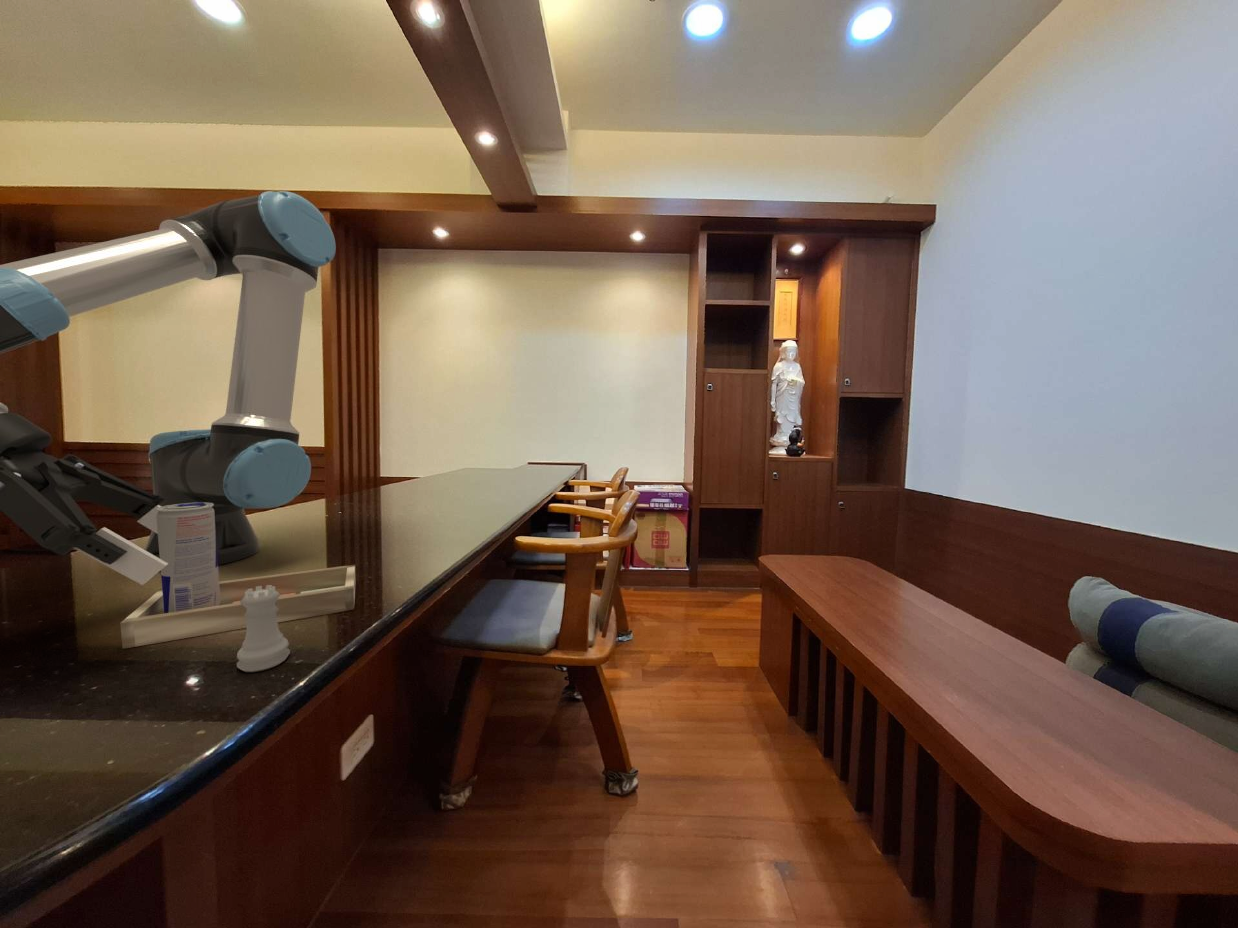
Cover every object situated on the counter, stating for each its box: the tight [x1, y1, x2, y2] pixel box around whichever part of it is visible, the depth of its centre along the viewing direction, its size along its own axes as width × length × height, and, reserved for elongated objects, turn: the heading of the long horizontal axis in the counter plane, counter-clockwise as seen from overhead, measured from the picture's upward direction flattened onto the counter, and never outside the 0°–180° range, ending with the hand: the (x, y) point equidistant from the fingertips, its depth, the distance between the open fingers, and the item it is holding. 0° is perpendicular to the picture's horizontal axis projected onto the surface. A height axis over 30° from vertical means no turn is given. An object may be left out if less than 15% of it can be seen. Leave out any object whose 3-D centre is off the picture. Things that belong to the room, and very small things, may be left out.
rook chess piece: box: [236, 585, 291, 673], centre depth 46 cm, size 4×4×8 cm
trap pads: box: [231, 593, 296, 604], centre depth 58 cm, size 8×7×1 cm
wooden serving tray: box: [120, 564, 357, 650], centre depth 58 cm, size 11×22×3 cm, turn 120°
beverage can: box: [156, 503, 221, 613], centre depth 54 cm, size 5×5×15 cm
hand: (179, 557), depth 53 cm, fingers open, 13 cm apart
